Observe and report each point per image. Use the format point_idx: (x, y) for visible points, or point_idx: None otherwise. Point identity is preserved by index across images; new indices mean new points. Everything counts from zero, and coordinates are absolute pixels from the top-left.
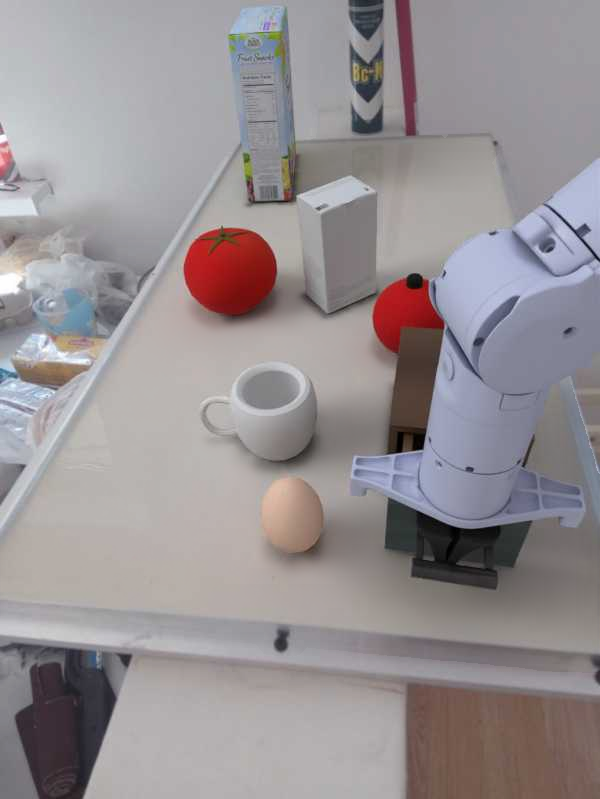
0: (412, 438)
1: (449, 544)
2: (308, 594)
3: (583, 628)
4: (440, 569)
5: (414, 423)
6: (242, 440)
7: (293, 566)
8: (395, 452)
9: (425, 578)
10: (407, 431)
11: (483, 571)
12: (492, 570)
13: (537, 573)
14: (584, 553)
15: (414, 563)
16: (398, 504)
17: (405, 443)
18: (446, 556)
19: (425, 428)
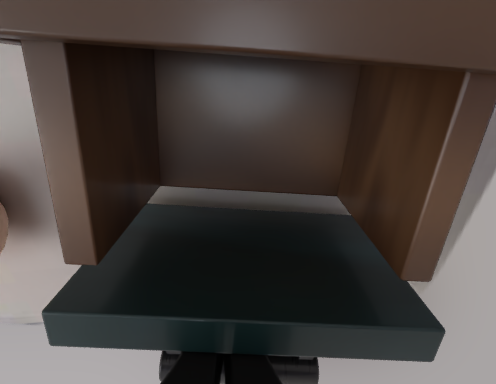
0: (64, 63)
1: (226, 373)
2: (47, 283)
3: (418, 288)
4: None
5: (12, 3)
6: None
7: (6, 247)
8: None
9: None
10: (15, 38)
11: (292, 379)
12: (310, 373)
13: None
14: (475, 182)
15: (162, 378)
16: (80, 344)
17: (41, 96)
18: (224, 359)
19: (86, 39)
